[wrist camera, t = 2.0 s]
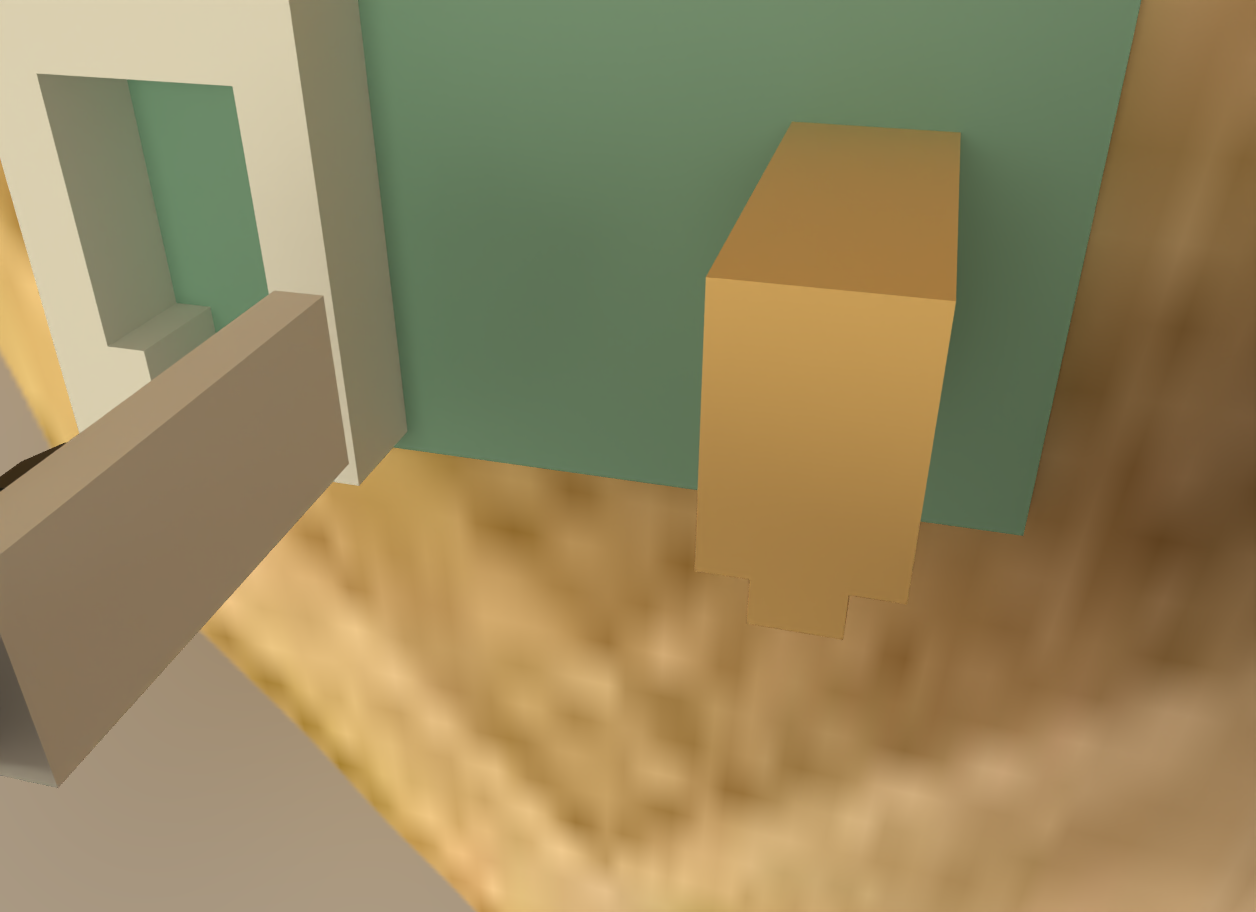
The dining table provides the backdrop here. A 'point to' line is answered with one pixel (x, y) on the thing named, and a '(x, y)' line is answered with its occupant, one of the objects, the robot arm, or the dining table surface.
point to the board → (538, 202)
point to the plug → (827, 371)
